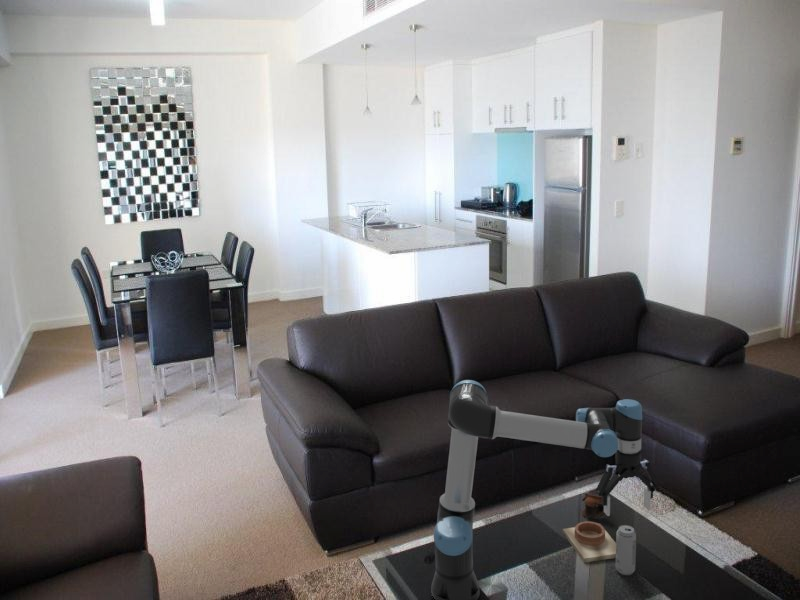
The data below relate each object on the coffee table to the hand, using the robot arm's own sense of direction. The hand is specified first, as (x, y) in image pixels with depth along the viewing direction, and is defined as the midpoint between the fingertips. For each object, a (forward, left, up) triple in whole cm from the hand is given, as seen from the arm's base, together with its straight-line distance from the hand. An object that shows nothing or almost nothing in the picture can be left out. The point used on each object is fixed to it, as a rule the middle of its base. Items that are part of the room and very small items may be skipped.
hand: (626, 510), depth 217 cm
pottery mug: (+5, +34, -22) cm, 41 cm away
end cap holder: (-4, +16, -21) cm, 27 cm away
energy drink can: (0, 0, -22) cm, 22 cm away
